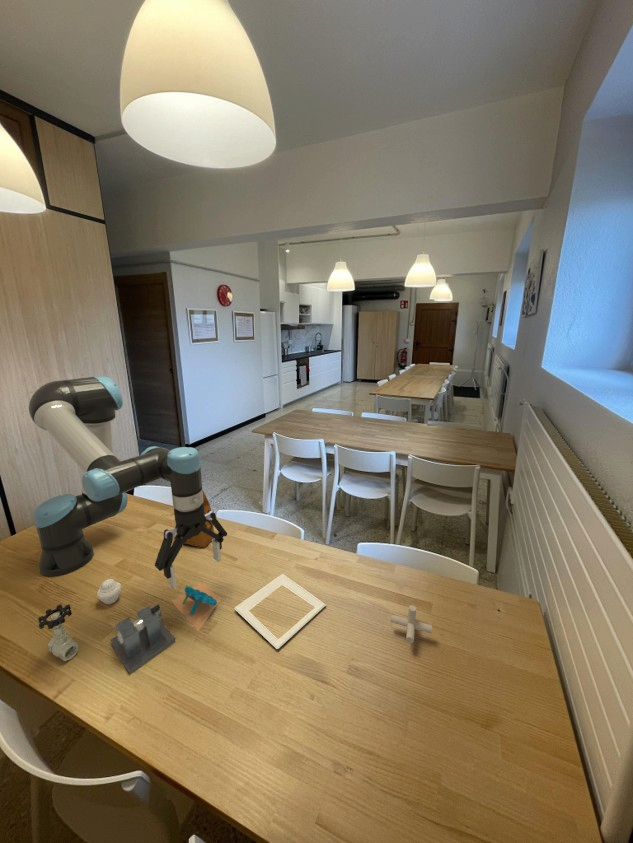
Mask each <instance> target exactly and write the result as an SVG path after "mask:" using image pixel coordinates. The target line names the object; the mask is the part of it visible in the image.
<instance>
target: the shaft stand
mask: <svg viewBox="0 0 633 843" xmlns="http://www.w3.org/2000/svg"><path fill="white" fill-rule="evenodd" d="M136 615H137V616H136V617H137V619H136V620H135V621H134V620H133V621H132V620H131V619H130V617H126V618H125V619H123V620H121V621H120V622H118V623H116V624H115V630H116V631H115V632H116V633H115V636H114V637H112V638H110V644H111V645H112V648H113V649H114V651H115V653H116V654H117V655H118V658H119V659H120V661H121V662H122V664H123V665H124V667H125V669H126V670H127V672H128V674H129V675H132V674H134V673H135V672H136V671H137V670H139V669H141V668H142V666H145V664H147V663H148V662H150V661H152V659H154V658H155V657H157V656H158V655H159V654H161V653H162V652H164V651H165V650H167V649H168V648H169V647H170V646H172V645H173V644H175V643H176V637H175V636H174V635H173V634H172V632H171V631H170V630H169V628H167V626H166V625H165V624H164V623H163V621H162V619H163V618H164V614H163V612H162V609H161V606H160V604H156V605H155V606H153V607H151V606H150V605H147V606H145V607H143V608H141V609H140V610H138V611H136Z"/></svg>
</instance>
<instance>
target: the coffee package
mask: <svg viewBox="0 0 633 843" xmlns="http://www.w3.org/2000/svg"><path fill="white" fill-rule="evenodd" d="M202 491H203V503H204V511H205V514H207V511H208V510H210V511H212V509H211V508H212V507H211V504H210V503H209V502H210V501H209V500H208V498H207V495H206V494H205V492H204V490H203V489H202ZM204 527H206V528H208V529H209V530H211V531H213V532H214V533H215V527H214V525H213V524H212V523H211V522H210V521H209V520H207V519H206V522H205V524H204ZM182 538H183V537H182V536H181V539H182ZM212 539H215V538H213V537H211V536H209V535H208V534H206V533H204V532H202V531H201V532H200V533H199V535H197V536H194V537H192V538H191V539H187V541H186V543H185V544H184V545H190V546H193V547H199V548H206V547H207V546H208V545H209V544H210V543H212Z"/></svg>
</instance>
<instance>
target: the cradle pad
mask: <svg viewBox="0 0 633 843" xmlns="http://www.w3.org/2000/svg"><path fill="white" fill-rule="evenodd" d="M192 588H193V589H195V590H196V589H197V590H200V592H204V593H206V594H207V595H208V596H212V597H213V599H215V600H216V602H217V604H216V605H209V604H208V602H207V603H203V602H202V601H201V603H200V604H198V606H197V608H196V610H195V612H194V614H193V615H191V614H190V612H191V610H192V608H193V606H194V604H195V601H193V600H192V599H190V598H189V597H188V598H187V600H186V602H185V604H184V605H183V604H182V602H183V600H184V599H185V597H186V595H185V594H186V592H184V593H183V594H182V595H179V596H178V597H177V598H175V599H173V600H172V601H171V603H172V605H174V606H175V607H176V608H177V609H178V611H179V612H180V613H181V615H183V616H184V617H185V618H186V619H187V621H188V622H190V624H191V625H192V626H193V627H194V628H195V629H196V630H197V631H198V632H199V631H200V630H201V628H202V627H203V625H204V624H205V623H206V621H207V619H208V618H209V617H210V616H211V614H212V613H213V611H214V610H215V608H216V607H217V605H218V604H219V603H220V601H221V598H220V597H218V595H217V594H216V593H215V592H213V591H212V590H211V589H210V588H209V587H208V586H207V585H206V584H204V582H201V583H199V584H197V585H196V586H194V587H192Z"/></svg>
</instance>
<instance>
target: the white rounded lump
mask: <svg viewBox="0 0 633 843" xmlns="http://www.w3.org/2000/svg"><path fill="white" fill-rule="evenodd" d="M121 591H122V584H121V583H120V582H118V581H115V579H113V578H107V579H106V580H104V581H103V582H102V583H101V584H100V587H99V589H98V590H97V592H96V595H97V598H98V599H99V601H101V602H102V603H104V604H105V605H111V604H114V603H115V602H116V601H117V600H118V599H119V596H120V595H121V594H120V593H121Z"/></svg>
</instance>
